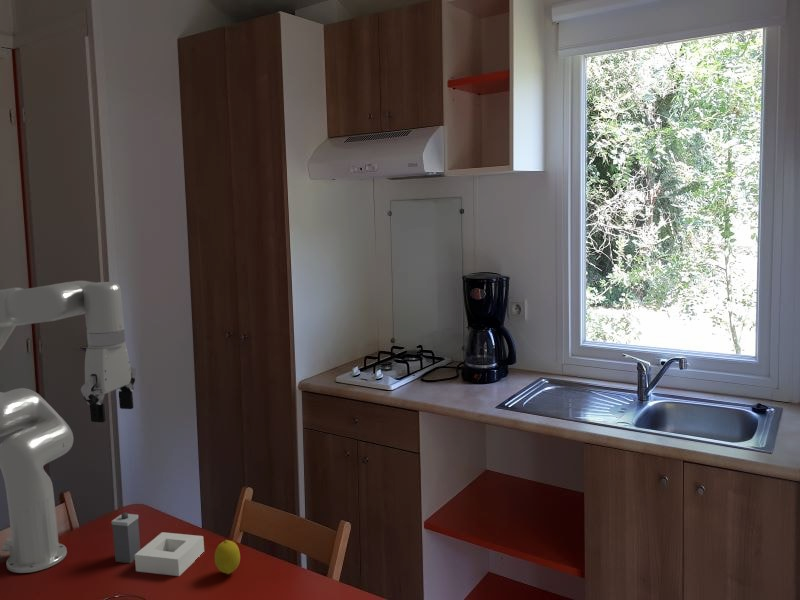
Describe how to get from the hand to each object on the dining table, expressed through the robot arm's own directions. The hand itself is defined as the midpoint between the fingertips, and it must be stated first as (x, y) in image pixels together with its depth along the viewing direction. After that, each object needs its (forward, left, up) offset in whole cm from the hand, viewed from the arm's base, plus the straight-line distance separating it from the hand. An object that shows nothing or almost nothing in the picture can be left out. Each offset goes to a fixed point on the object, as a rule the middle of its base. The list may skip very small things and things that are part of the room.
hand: (113, 414), depth 151 cm
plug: (-3, +5, -37) cm, 37 cm away
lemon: (+24, +3, -37) cm, 44 cm away
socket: (+8, +5, -37) cm, 38 cm away
